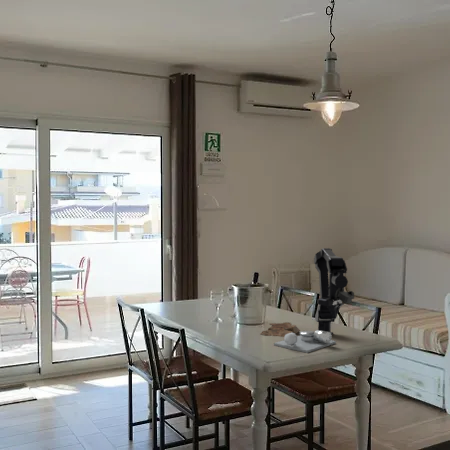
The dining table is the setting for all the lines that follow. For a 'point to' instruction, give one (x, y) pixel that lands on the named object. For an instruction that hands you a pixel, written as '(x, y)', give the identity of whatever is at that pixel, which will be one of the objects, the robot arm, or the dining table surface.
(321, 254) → the robot arm
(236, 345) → the dining table surface
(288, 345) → the grey plate with knobs
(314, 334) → the elbow
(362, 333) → the dining table surface
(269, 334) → the fossil
